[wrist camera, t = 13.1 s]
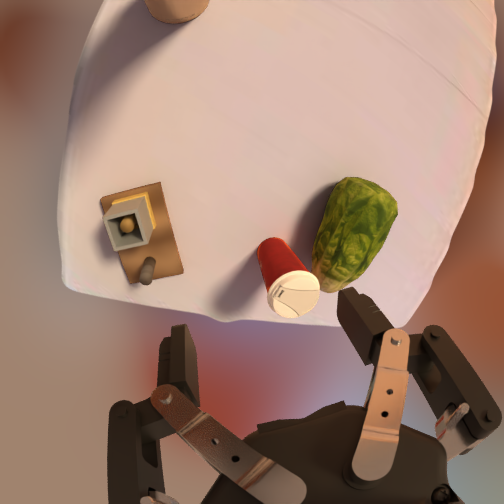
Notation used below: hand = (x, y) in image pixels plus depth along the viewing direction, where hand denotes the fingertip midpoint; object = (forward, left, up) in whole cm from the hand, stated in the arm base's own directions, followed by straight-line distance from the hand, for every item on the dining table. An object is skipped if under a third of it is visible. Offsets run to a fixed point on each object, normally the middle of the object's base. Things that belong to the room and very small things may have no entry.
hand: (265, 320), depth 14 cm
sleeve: (+3, -14, -31) cm, 34 cm away
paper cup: (+15, +7, -32) cm, 36 cm away
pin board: (+7, -14, -32) cm, 36 cm away
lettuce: (+12, +19, -32) cm, 40 cm away
